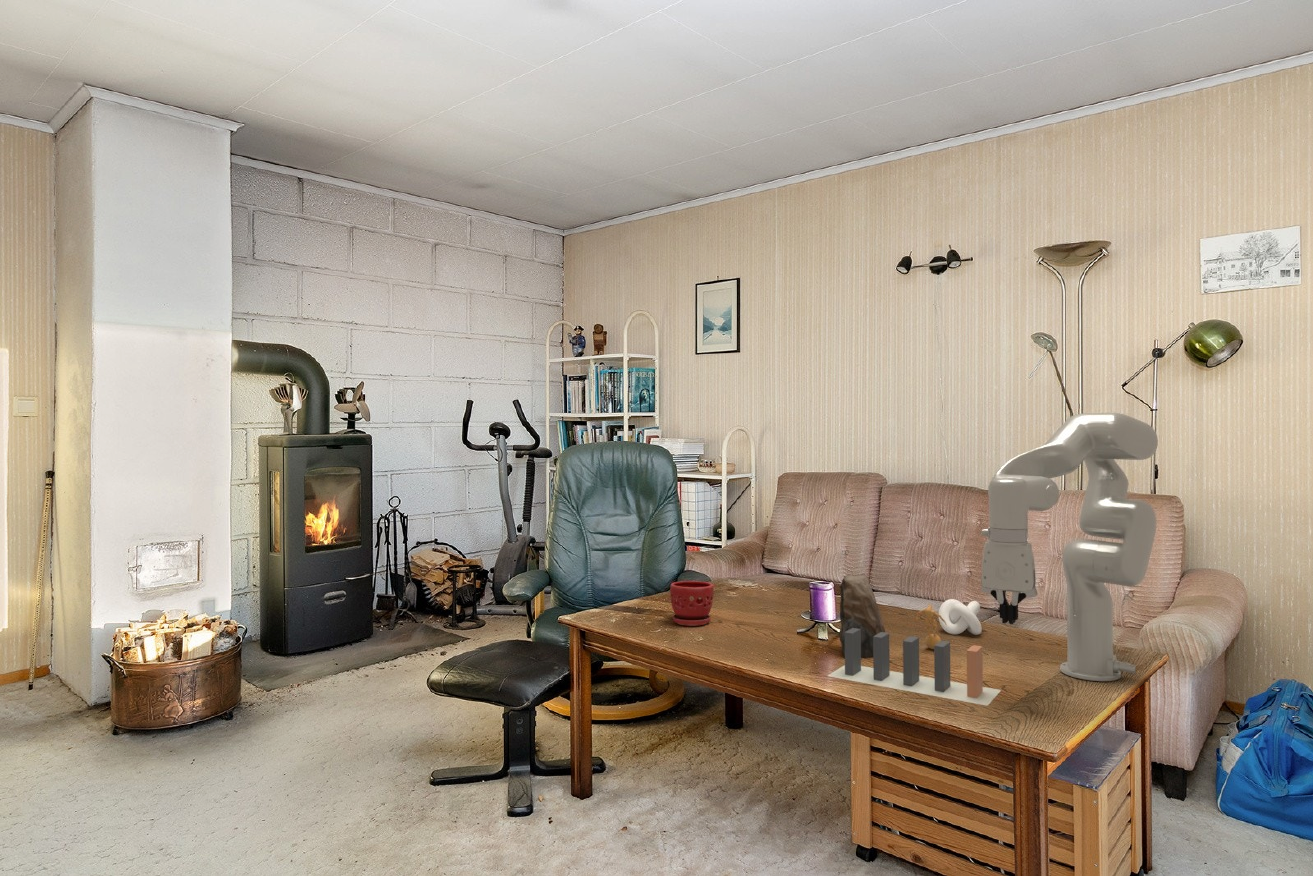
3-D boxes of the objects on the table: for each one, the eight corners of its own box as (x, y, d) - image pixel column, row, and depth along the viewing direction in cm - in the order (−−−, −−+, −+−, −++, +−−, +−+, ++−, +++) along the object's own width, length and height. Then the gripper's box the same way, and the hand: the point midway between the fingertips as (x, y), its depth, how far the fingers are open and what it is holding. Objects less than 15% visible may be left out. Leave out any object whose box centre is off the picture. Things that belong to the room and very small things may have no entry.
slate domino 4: (950, 686, 180) (950, 641, 180) (943, 692, 176) (943, 647, 176) (941, 684, 182) (941, 640, 182) (934, 690, 178) (934, 645, 177)
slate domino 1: (861, 670, 193) (860, 629, 193) (853, 675, 189) (852, 633, 189) (853, 669, 194) (852, 627, 194) (844, 674, 190) (844, 632, 190)
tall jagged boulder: (843, 660, 202) (842, 581, 202) (827, 647, 215) (826, 572, 215) (891, 658, 204) (890, 580, 203) (873, 645, 216) (872, 571, 216)
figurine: (951, 650, 211) (951, 604, 210) (942, 655, 206) (942, 608, 206) (921, 644, 216) (921, 600, 216) (911, 649, 212) (911, 604, 212)
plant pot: (715, 627, 237) (714, 587, 237) (670, 628, 237) (670, 587, 237) (712, 617, 250) (712, 579, 250) (670, 617, 250) (670, 579, 250)
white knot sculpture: (939, 636, 224) (939, 604, 224) (937, 626, 236) (937, 596, 236) (982, 639, 221) (982, 607, 221) (979, 628, 232) (978, 598, 232)
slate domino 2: (889, 675, 189) (889, 633, 189) (881, 681, 185) (881, 637, 185) (881, 674, 190) (880, 631, 190) (873, 679, 186) (873, 636, 186)
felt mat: (1001, 691, 177) (1001, 690, 177) (987, 707, 168) (987, 705, 168) (847, 665, 199) (847, 663, 199) (826, 677, 189) (826, 676, 189)
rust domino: (982, 691, 176) (982, 646, 176) (976, 698, 172) (976, 651, 172) (973, 690, 178) (972, 645, 177) (967, 696, 174) (966, 650, 173)
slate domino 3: (919, 680, 185) (919, 637, 184) (912, 686, 181) (911, 642, 180) (910, 679, 186) (910, 636, 186) (903, 685, 182) (902, 641, 182)
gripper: (966, 535, 172) (967, 621, 172) (1043, 541, 163) (1044, 631, 163) (975, 531, 178) (976, 614, 178) (1050, 536, 169) (1051, 623, 169)
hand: (1008, 622), depth 171 cm, fingers closed
